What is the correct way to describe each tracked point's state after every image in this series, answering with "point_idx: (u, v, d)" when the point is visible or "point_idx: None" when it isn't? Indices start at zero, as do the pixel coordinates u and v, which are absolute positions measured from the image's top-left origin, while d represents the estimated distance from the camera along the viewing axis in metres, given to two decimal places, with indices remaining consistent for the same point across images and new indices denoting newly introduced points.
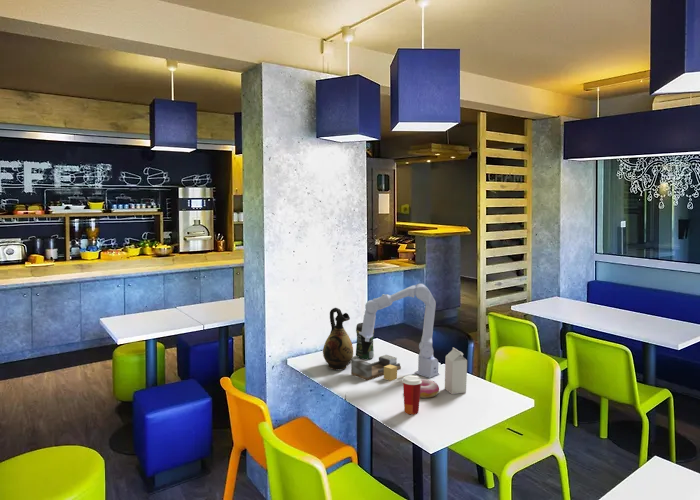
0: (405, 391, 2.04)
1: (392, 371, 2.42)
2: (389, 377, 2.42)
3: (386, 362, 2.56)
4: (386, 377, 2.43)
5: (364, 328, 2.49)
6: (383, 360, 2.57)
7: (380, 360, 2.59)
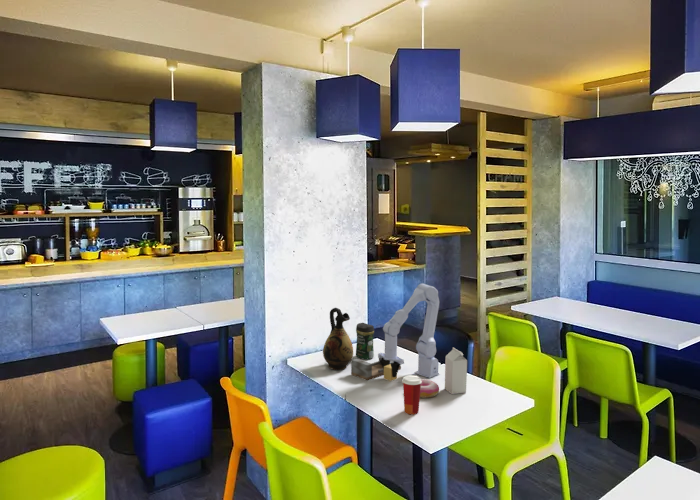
0: (405, 391, 2.04)
1: None
2: (389, 377, 2.42)
3: None
4: (386, 377, 2.43)
5: (391, 352, 2.40)
6: None
7: None
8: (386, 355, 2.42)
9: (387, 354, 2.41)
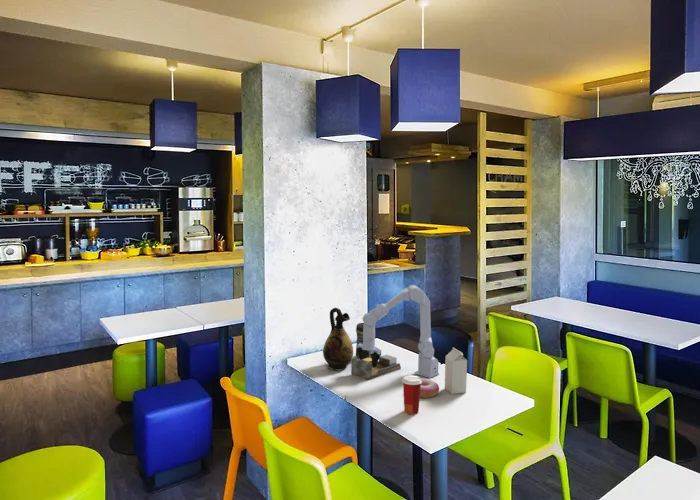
0: (405, 391, 2.04)
1: None
2: None
3: (386, 362, 2.56)
4: None
5: (369, 342, 2.46)
6: (383, 360, 2.57)
7: (380, 360, 2.59)
8: (364, 345, 2.47)
9: (365, 344, 2.46)
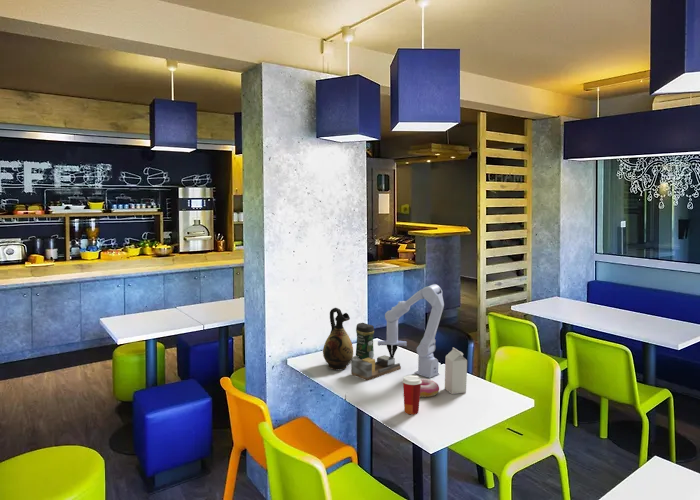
0: (405, 391, 2.04)
1: None
2: None
3: (384, 363, 2.55)
4: None
5: (396, 337, 2.58)
6: (381, 361, 2.56)
7: (378, 361, 2.58)
8: (392, 341, 2.57)
9: (393, 339, 2.57)
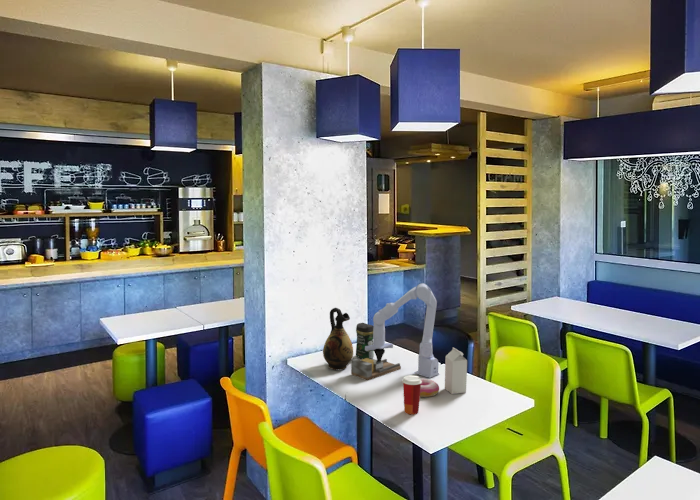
0: (405, 391, 2.04)
1: None
2: None
3: None
4: None
5: (384, 340, 2.53)
6: None
7: None
8: (381, 344, 2.51)
9: (382, 343, 2.51)
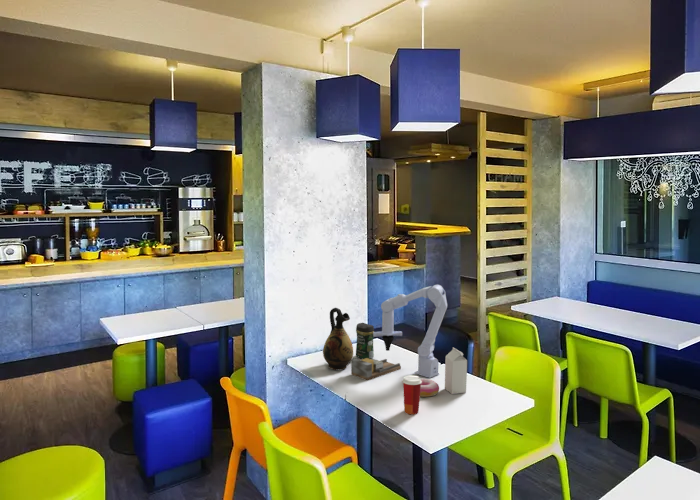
0: (405, 391, 2.04)
1: None
2: None
3: (373, 367, 2.49)
4: None
5: (392, 327, 2.56)
6: None
7: None
8: (388, 331, 2.55)
9: (389, 330, 2.55)
